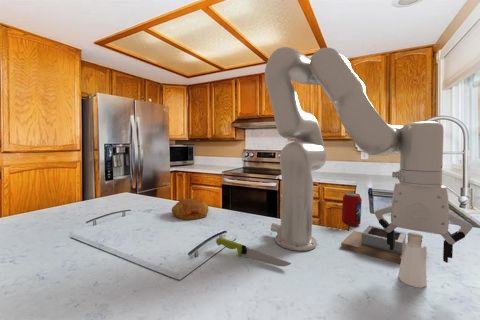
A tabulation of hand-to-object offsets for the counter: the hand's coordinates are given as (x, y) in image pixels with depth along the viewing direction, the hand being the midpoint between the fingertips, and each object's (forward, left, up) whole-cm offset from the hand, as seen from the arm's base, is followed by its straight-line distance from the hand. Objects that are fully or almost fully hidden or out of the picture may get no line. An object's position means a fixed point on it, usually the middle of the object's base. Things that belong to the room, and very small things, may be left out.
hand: (417, 253), depth 54 cm
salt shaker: (-1, 0, -7) cm, 7 cm away
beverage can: (-23, +34, -7) cm, 41 cm away
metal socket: (-9, +15, -5) cm, 18 cm away
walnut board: (-9, +15, -7) cm, 19 cm away
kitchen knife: (-35, -16, -7) cm, 39 cm away
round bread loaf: (-78, -1, -7) cm, 78 cm away
